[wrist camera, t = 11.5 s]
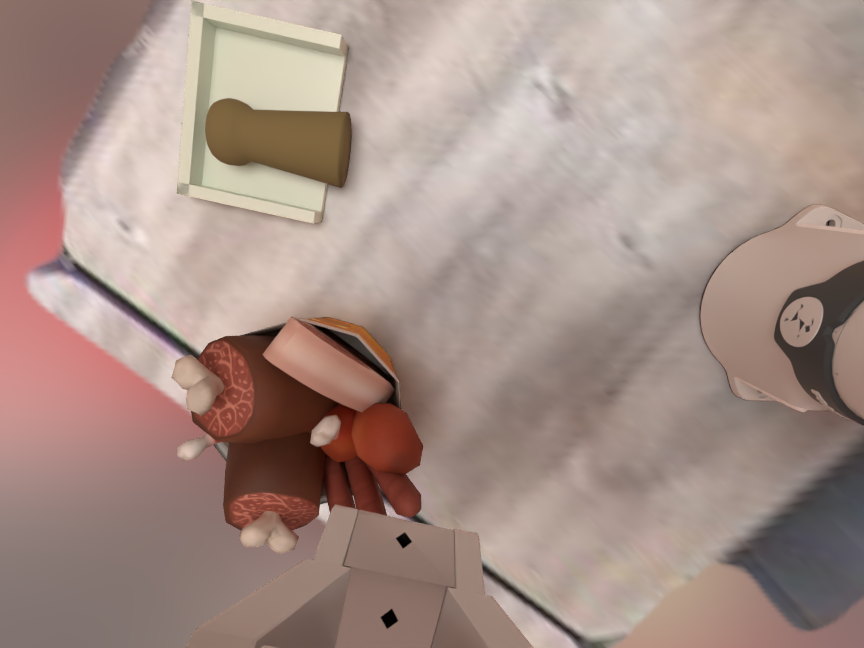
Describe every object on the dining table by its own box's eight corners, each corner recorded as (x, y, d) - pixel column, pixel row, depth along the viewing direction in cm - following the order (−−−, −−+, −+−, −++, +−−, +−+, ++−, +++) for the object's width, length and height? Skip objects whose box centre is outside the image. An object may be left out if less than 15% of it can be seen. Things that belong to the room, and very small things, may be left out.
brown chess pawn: (352, 101, 41) (220, 79, 40) (337, 127, 36) (188, 103, 36) (350, 169, 45) (230, 150, 44) (337, 200, 40) (203, 179, 40)
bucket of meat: (211, 375, 49) (59, 489, 30) (305, 249, 46) (201, 286, 26) (366, 488, 52) (319, 659, 33) (466, 377, 48) (479, 496, 29)
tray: (348, 46, 41) (341, 34, 38) (321, 222, 45) (313, 223, 42) (209, 14, 41) (191, 0, 38) (194, 193, 45) (176, 193, 42)
